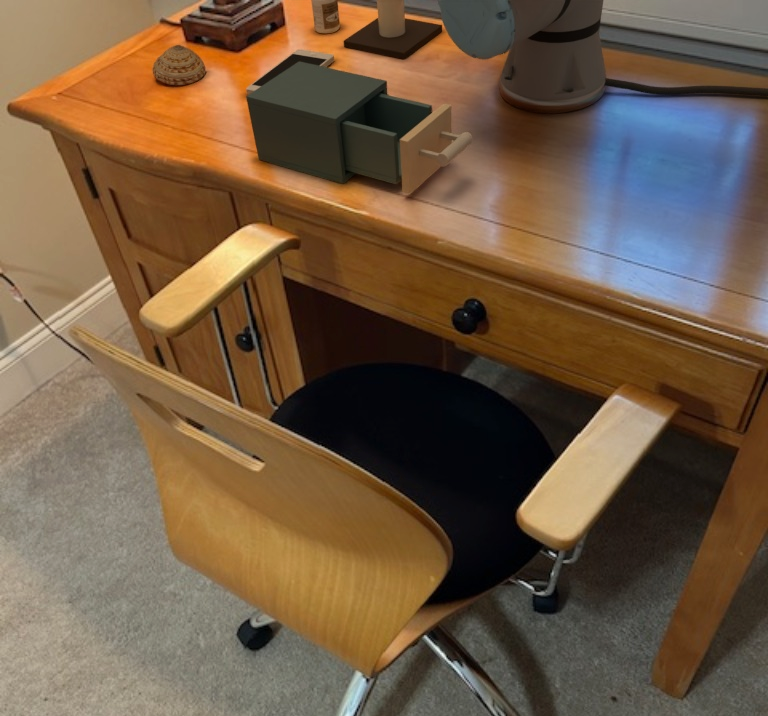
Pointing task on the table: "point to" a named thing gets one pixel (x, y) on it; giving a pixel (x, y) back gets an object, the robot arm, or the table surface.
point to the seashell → (178, 66)
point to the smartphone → (292, 59)
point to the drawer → (400, 140)
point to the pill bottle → (326, 15)
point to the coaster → (393, 39)
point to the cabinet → (308, 117)
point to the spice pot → (391, 18)
